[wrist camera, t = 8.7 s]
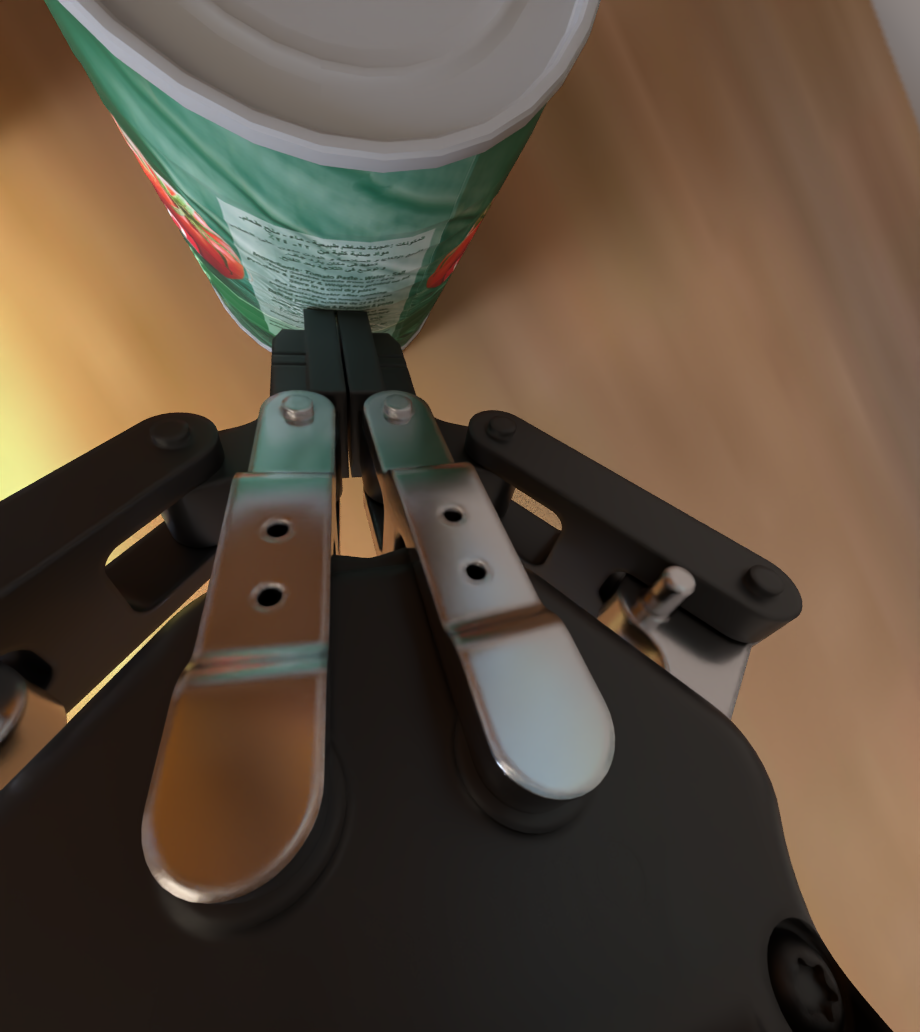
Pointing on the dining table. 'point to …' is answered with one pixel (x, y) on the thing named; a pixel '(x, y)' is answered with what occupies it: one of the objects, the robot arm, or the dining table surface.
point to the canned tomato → (326, 136)
